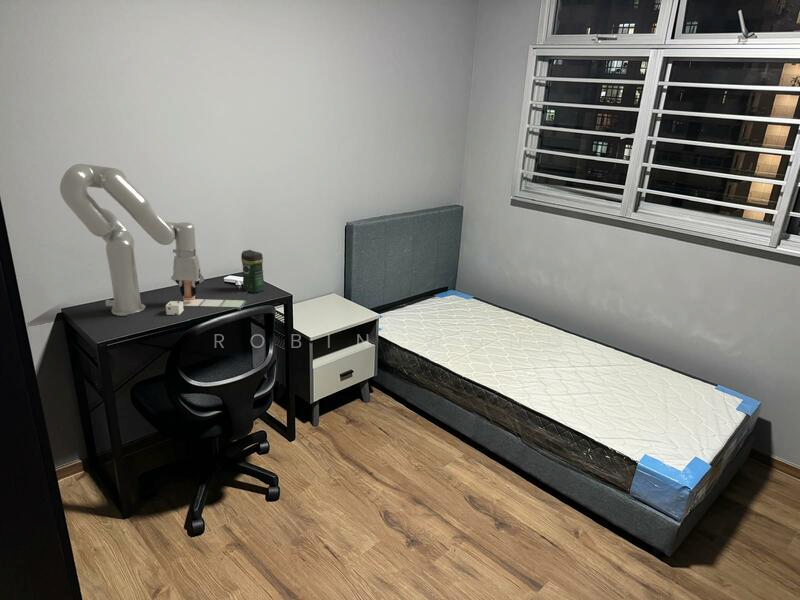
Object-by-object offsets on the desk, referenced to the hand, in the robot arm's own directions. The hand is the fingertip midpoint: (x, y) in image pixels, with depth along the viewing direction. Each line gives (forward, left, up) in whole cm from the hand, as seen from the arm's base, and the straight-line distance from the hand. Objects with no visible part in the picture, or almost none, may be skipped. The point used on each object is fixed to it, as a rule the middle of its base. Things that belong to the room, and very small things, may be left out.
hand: (188, 294), depth 236 cm
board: (+9, 0, -5) cm, 10 cm away
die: (-2, -12, -5) cm, 13 cm away
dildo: (0, 0, -2) cm, 2 cm away
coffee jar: (+22, +21, -5) cm, 31 cm away
